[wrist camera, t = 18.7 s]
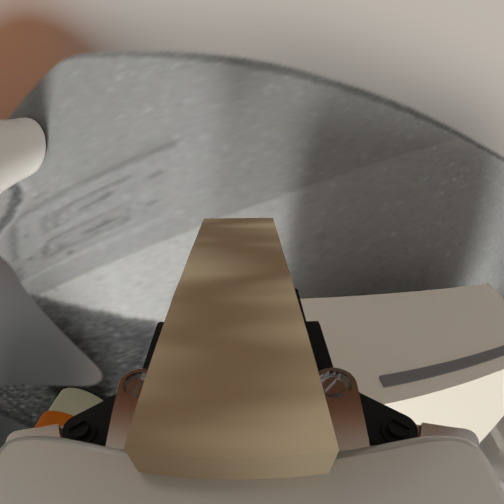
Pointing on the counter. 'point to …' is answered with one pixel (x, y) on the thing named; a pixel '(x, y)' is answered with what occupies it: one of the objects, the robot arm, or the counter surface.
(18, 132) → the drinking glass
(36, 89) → the counter surface
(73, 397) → the reusable coffee cup
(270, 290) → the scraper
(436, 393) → the cabinet
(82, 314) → the counter surface
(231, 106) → the counter surface
